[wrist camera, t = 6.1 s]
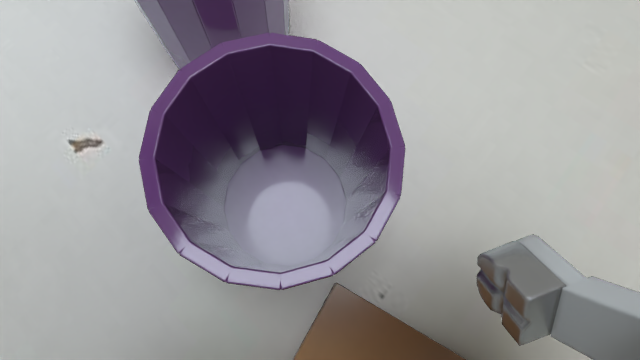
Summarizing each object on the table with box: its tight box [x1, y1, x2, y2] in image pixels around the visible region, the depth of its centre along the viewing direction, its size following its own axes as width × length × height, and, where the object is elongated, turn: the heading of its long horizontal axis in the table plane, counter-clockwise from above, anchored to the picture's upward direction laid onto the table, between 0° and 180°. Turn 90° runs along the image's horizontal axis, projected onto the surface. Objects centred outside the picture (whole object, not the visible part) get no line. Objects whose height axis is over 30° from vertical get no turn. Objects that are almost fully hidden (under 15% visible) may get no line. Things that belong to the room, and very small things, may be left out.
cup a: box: [139, 33, 405, 290], centre depth 15 cm, size 7×7×10 cm
